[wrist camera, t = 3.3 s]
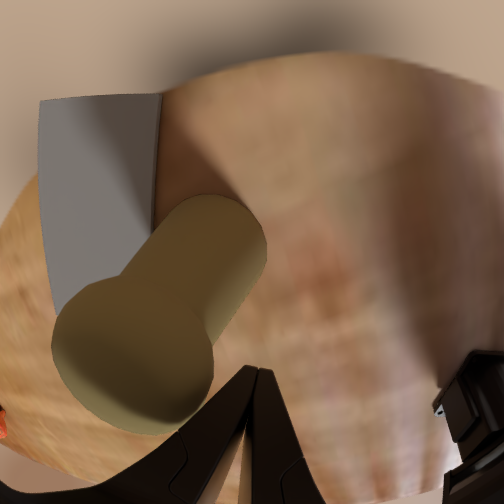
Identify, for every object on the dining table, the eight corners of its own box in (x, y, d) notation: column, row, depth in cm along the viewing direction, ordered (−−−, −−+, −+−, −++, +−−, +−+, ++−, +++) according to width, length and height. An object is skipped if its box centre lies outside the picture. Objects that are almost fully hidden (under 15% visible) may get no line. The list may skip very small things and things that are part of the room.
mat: (162, 94, 14) (159, 93, 14) (156, 345, 21) (154, 348, 20) (44, 101, 15) (39, 101, 15) (59, 312, 22) (56, 314, 21)
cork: (150, 202, 17) (-5, 301, 7) (257, 186, 16) (165, 302, 6) (175, 299, 19) (78, 439, 9) (274, 294, 18) (231, 472, 8)
